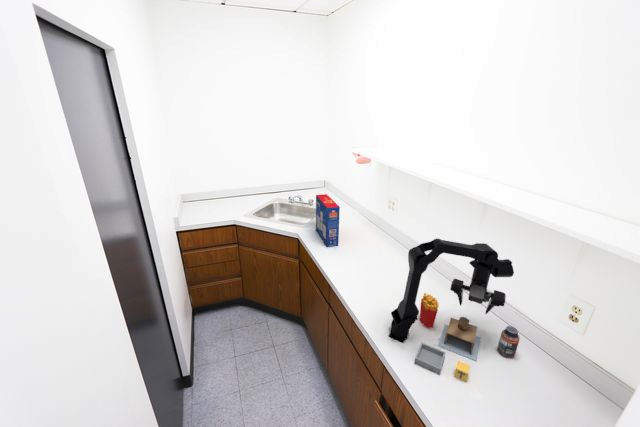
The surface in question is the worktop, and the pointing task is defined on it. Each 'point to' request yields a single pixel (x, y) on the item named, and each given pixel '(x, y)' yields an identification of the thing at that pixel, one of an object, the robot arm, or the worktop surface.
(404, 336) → the robot arm
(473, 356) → the mat
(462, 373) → the letter cube
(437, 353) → the tray
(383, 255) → the worktop surface
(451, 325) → the brown knobbed box
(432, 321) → the french fries
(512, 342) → the supplement bottle
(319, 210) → the pasta box
